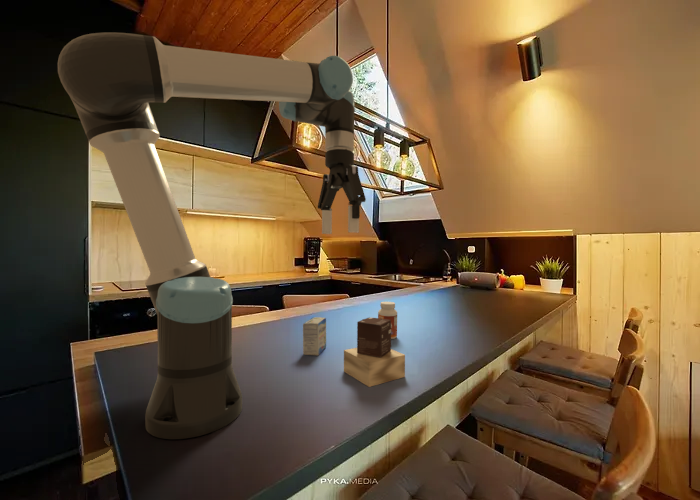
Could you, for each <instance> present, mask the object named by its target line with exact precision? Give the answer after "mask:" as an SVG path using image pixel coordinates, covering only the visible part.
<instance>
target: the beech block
mask: <svg viewBox="0 0 700 500" xmlns="http://www.w3.org/2000/svg"><path fill="white" fill-rule="evenodd" d="M343 372H344V373H346V374H347V375H349V376H350V377H352V378H353V379H355V380H357V381H359V382H360V383H361V384H363V385H365V386H366V387H369V388H371V387H374V386H378V385H381V384H384V383H389V382H391V381H392V382H393V381H396V380H398V379H402V378H405V377H406V354H404V353H402V352H399V351H397V350H395V349H392V348H391V351H389V352H388V353H387V354H385V355H384V356H382V357H374V356H369V355H363V354H358V353H357V347H351V348H348V349H343Z"/></svg>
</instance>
